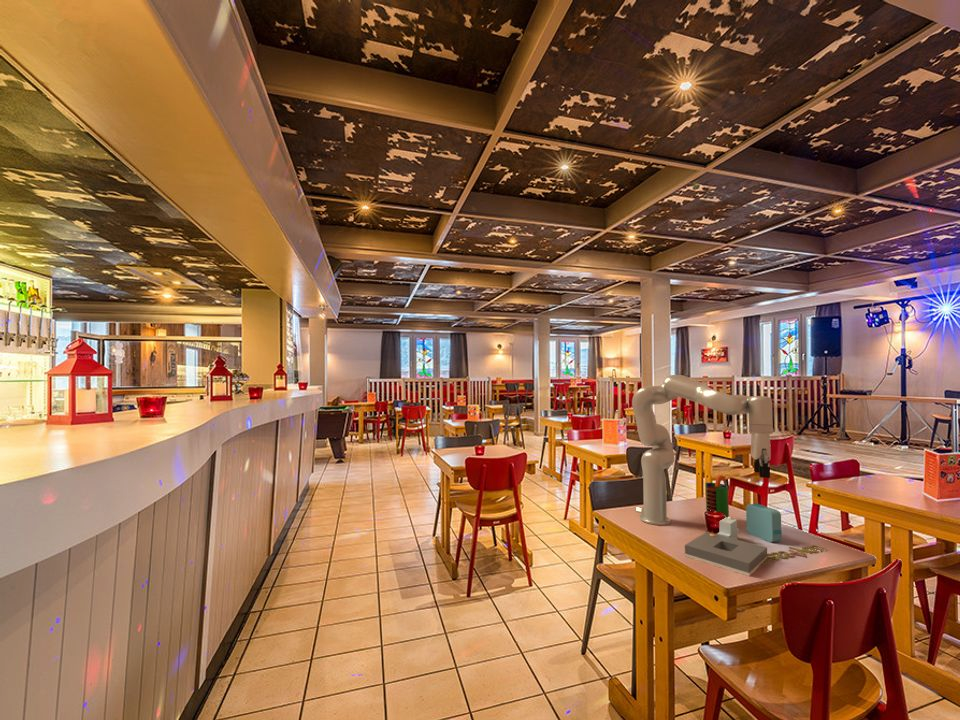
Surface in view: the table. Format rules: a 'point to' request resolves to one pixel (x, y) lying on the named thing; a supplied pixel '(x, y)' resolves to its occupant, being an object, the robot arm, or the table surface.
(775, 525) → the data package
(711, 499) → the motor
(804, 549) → the text sign
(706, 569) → the table surface
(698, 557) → the chassis
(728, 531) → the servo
